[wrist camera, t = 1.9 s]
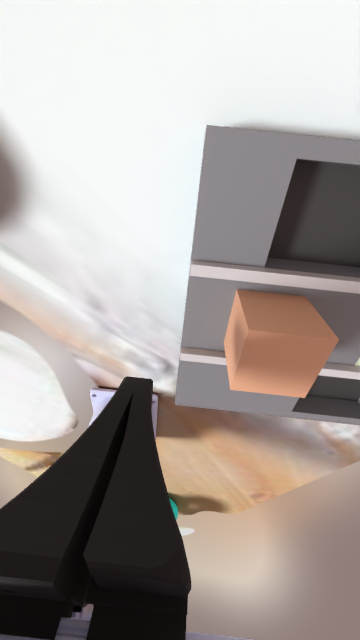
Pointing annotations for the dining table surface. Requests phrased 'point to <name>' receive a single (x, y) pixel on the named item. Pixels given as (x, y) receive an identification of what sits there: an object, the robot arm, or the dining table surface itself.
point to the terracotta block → (275, 343)
